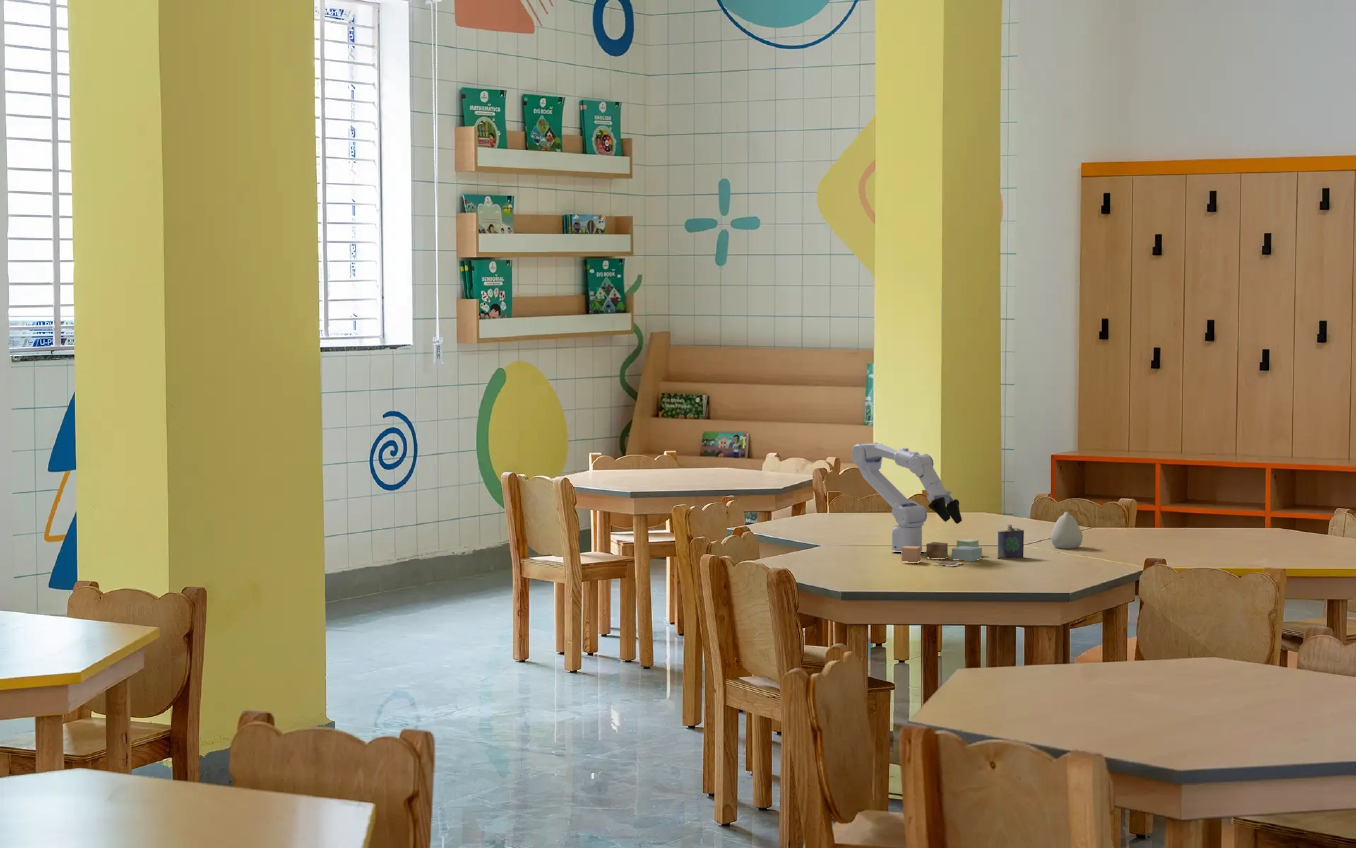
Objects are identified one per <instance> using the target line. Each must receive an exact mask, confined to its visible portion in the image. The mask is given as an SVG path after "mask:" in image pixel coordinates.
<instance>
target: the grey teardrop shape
mask: <svg viewBox="0 0 1356 848" xmlns="http://www.w3.org/2000/svg"><path fill="white" fill-rule="evenodd" d="M1082 532H1083V531H1081V529H1080V525H1079V524H1078V521H1077V519H1076V518H1074V516H1072V515H1070V513H1069V512H1068V511H1065V512H1063V515H1061V516H1059V518H1057V520H1056V522H1055V524H1054V526H1053V528H1052V530H1051V534H1050V541H1051V544H1052V545H1053V547H1055V548H1057V549H1062V550H1075V549H1077V548H1079V547H1080V546H1081V545H1082V543H1083V538H1084V537H1083V533H1082Z"/></svg>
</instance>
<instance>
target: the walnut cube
mask: <svg viewBox="0 0 1356 848" xmlns="http://www.w3.org/2000/svg"><path fill="white" fill-rule="evenodd" d="M948 544H949V543H948V542H939V541H938V542H937V541H932V542H928V543H926V545H925V546H926V552H925V553H926V557H929V558H946V557H949V556H948V552H949V551H948V549H949V547H948Z"/></svg>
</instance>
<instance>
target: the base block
mask: <svg viewBox="0 0 1356 848" xmlns="http://www.w3.org/2000/svg"><path fill="white" fill-rule="evenodd" d="M982 550H983V547H980V546H979V547H968V546H960V547H957V546H956V547H953V548H951V560H952V559H959V560H965V561H964V562H966V561H974V562H976V561H975V560H977V559H980V558H982V559H983V551H982Z"/></svg>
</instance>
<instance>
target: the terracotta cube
mask: <svg viewBox="0 0 1356 848" xmlns="http://www.w3.org/2000/svg"><path fill="white" fill-rule="evenodd" d="M921 556H922V553H921V546H904V547H902V553H901V562H902V561H908V562H918V561H920V560H921V559H922V557H921ZM921 561H922V560H921Z"/></svg>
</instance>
